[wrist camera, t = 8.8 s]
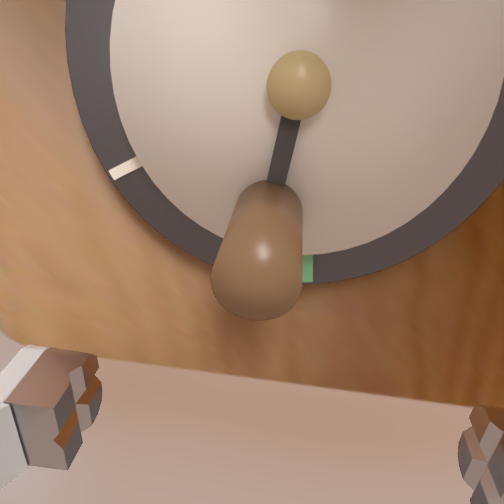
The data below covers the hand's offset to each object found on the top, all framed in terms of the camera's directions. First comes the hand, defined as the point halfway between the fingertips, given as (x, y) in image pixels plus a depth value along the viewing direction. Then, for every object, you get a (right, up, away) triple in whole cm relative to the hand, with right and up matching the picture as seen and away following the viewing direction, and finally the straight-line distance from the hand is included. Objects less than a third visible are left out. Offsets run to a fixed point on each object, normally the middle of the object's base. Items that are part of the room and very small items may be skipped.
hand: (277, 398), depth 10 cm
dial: (+1, +9, +9) cm, 13 cm away
